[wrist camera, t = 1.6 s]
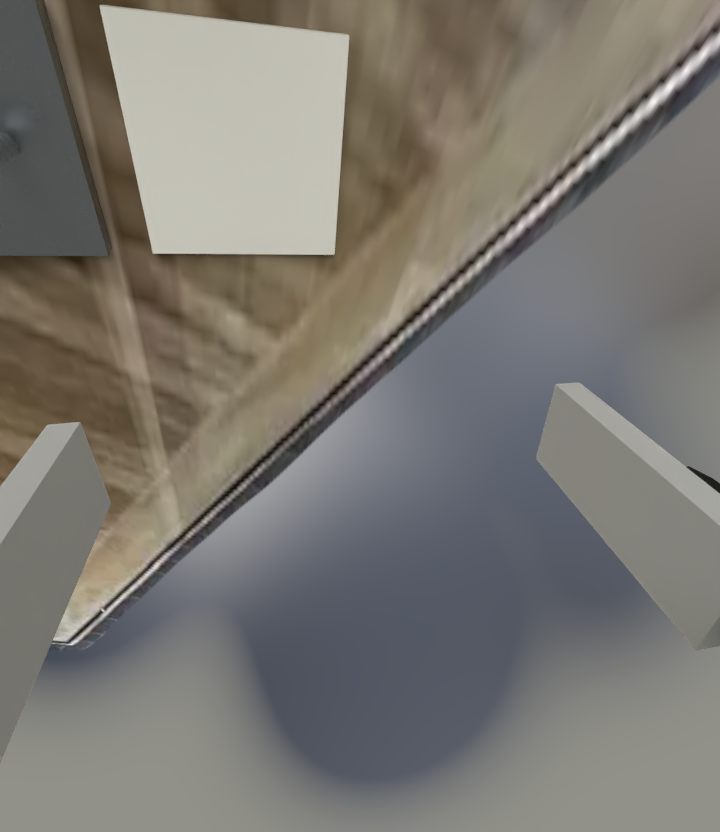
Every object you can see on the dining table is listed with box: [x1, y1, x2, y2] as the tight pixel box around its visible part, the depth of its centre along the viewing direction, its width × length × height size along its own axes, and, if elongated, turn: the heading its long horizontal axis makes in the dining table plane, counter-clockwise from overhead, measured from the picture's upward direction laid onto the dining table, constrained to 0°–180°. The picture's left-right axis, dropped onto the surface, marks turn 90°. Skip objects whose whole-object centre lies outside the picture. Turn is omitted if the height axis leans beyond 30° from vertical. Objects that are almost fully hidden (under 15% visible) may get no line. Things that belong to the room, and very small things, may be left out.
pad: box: [100, 5, 349, 255], centre depth 31 cm, size 14×14×1 cm
